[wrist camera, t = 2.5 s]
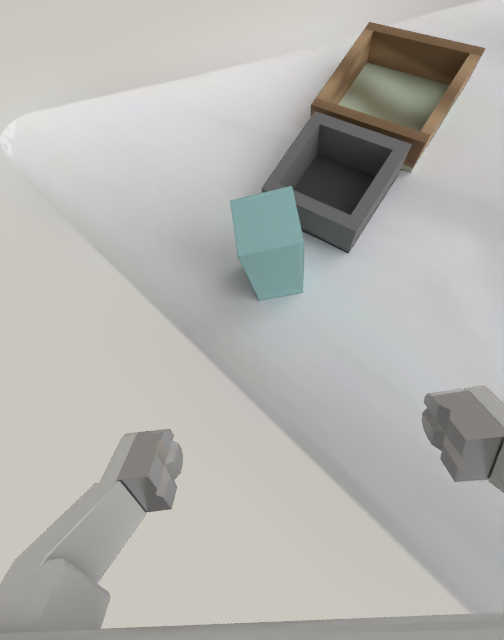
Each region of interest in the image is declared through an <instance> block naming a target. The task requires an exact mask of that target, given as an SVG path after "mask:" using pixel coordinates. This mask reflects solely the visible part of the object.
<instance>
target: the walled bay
mask: <svg viewBox="0 0 504 640" xmlns="http://www.w3.org/2000/svg"><path fill="white" fill-rule="evenodd" d="M485 49H486V48H481V47H477V46H473V45H468V44H464V43H459V42H455V41H451V40H446V39H442V38H437V37H433V36H429V35H424V34H420V33H415V32H411V31H406V30H402V29H398V28H393V27H389V26H384V25H380V24H376V23H371V22H369V24H368V25H367V26H366V28H365V29H364V31H363V32H362V33H361V35H360V36H359V38H358V39H357V40H356V42H355V43H354V45H353V46H352V48H351V49H350V50H349V52H348V53H347V55H346V56H345V58H344V59H343V60H342V62H341V63H340V65H339V66H338V67H337V69H336V70H335V72H334V73H333V75H332V76H331V77H330V79H329V80H328V82H327V83H326V85H325V86H324V87H323V89H322V90H321V92H320V93H319V95H318V96H317V97H316V99H315V100H314V102H313V103H312V104H311V117H312V115H313V114H314V113H315V111H316V112H319V113H322V114H325V115H328V116H330V117H333V118H336V119H339V120H342V121H345V122H348V123H351V124H354V125H357V126H360V127H363V128H366V129H369V130H372V131H374V132H377V133H380V134H383V135H386V136H389V137H392V138H395V139H398V140H401V141H404V142H407V143H410V144H412V145H411V148H410V150H409V152H408V154H407V156H406V158H405V161H404V163H403V165H402V167H401V169H402V170H405V171H408V172H411V171H412V170H413V168H414V166H415V165H416V163H417V162H418V160H419V158H420V157H421V155H422V154H423V152H424V151H425V149H426V147H427V146H428V144H429V143H430V141H431V139H432V138H433V136H434V135H435V133H436V131H437V130H438V128H439V127H440V125H441V124H442V122H443V120H444V119H445V117H446V116H447V114H448V112H449V111H450V109H451V108H452V106H453V104H454V103H455V101H456V100H457V98H458V97H459V95H460V93H461V92H462V90H463V89H464V87H465V85H466V83H467V81H468V80H469V78H470V76H471V74H472V72H473V70H474V69H475V67H476V65H477V63H478V61H479V60H480V58H481V56H482V54H483V52H484V50H485Z"/></svg>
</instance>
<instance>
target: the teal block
mask: <svg viewBox="0 0 504 640" xmlns="http://www.w3.org/2000/svg"><path fill="white" fill-rule="evenodd" d="M230 203H231V210H232V217H233V224H234V232H235V239H236V246H237V253H238V258H239V260H240V262H241V264H242V266H243V268H244V270H245V272H246V274H247V276H248V278H249V280H250V282H251V284H252V287H253V289H254V291H255V293H256V295H257V297H258V299H259V301H261V300H266V299H271V298H276V297H282V296H287V295H292V294H297V293H303V271H304V239H303V234H302V230H301V225H300V221H299V216H298V211H297V207H296V202H295V197H294V193H293V188H292V186H289V187H285V188H281V189H277V190H273V191H269V192H264V193H260V194H256V195H252V196H248V197H244V198H240V199H236V200H232V201H230Z"/></svg>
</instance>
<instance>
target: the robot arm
mask: <svg viewBox="0 0 504 640" xmlns="http://www.w3.org/2000/svg"><path fill="white" fill-rule="evenodd" d="M424 403H425V405H426V406H427V409H426V410H425V411H424V412H423V413H422V423H423V428H424V431H425V433H426V435H427V437H428V439H429V441H430V443H431V444H432V445H433V446H435V447H436V448H438V449H439V450H441V451H442V453H441V461H442V462H443V464H444V465H445V467H446V469H447V470H448V472H449V473H450V475H451V477H452V478H453V480H454V481H455V482H460V481H475V480H489V482H490V483H492V484H493V485H494V486H496V487H497V488H498V489H500V490H501V491H502V492H504V403H503V402H502V401H501V400H500V399H499V398H498V397H497V396H496V395H495V394H494V393H492V392H491V391H490V390H489V389H488V388H486V387H484V386H479V387H472V388H464V389H455V390H448V391H441V392H435V393H428V394H427V395H426V396H425V399H424ZM173 437H174V435H173V433H172V431H171V430H170V429H165V430H156V431H146V432H138V433H130V434H125V435H124V436H123V437H122V438H121V440H120V442H119V444H118V446H117V448H116V450H115V452H114V454H113V456H112V458H111V461H110V463H109V465H108V467H107V469H106V470H105V472H104V475H103V477H102V479H101V481H100V483H95V484H94V485H93V486H92V487H91V488H90V489H89V490H88V491H87V492H86V493H85V494H84V495H83V496H81V497H80V499H78V500H77V501H76V502H75V503H74V504H73V505H72V506H71V507H70V508H69V509H68V510H67V511H66V512H65V513H64V514H63V515H62V516H61V517H60V518H58V519H57V520H56V521H55V522H54V523H53V524H52V525H51V526H50V527H49V528H48V529H47V530H46V531H45V532H44V533H43V534H42V535H41V536H40V537H39V538H37V539H36V540H35V541H34V542H33V543H32V544H31V545H30V546H29V547H28V548H27V549H26V550H25V551H24V552H23V553H22V554H21V555H20V556H19V557H18V558H17V559H15V561H14V562H13V564H12V566H11V567H10V569H9V570H8V572H7V574H6V575H5V577H4V579H3V580H2V582H1V584H0V640H504V613H481V614H459V615H458V614H457V615H432V616H408V617H384V618H383V617H382V618H359V619H335V620H334V619H333V620H310V621H284V622H259V623H235V624H211V625H186V626H163V627H138V628H111V629H100V628H101V625H102V622H103V619H104V616H105V613H106V610H107V607H108V604H109V600H110V595H109V593H108V591H106V590H105V589H103V588H102V587H101V586H99V585H98V584H97V583H98V582H99V580H100V579H101V578H102V576H103V575H104V573H105V572H106V571H107V569H108V568H109V566H110V565H111V563H112V562H113V561H114V559H115V558H116V556H117V555H118V554H119V552H120V551H121V549H122V548H123V547H124V545H125V544H126V542H127V541H128V539H129V538H130V537H131V535H132V534H133V532H134V531H135V530H136V528H137V527H138V525H139V524H140V522H141V521H142V520H143V518H144V517H145V515H146V512H152V511H161V510H168V509H172V505H173V501H174V497H175V493H176V489H177V486H176V483H175V481H174V480H175V479H176V478H177V477H178V475H179V474H180V473H181V468H182V460H183V454H182V450H181V447H180V445H179V444H178V443H176V442H175V441H173Z"/></svg>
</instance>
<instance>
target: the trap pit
mask: <svg viewBox="0 0 504 640" xmlns="http://www.w3.org/2000/svg"><path fill="white" fill-rule="evenodd" d="M411 145H412V144H410V143H407V142H404V141H401V140H398V139H395V138H392V137H389V136H386V135H383V134H380V133H377V132H374V131H372V130H369V129H366V128H363V127H360V126H357V125H354V124H351V123H348V122H345V121H342V120H339V119H336V118H333V117H330V116H328V115H325V114H322V113H319V112H316V111H315V113H314V114H313V115H312V117H311V118H310V120H309V121H308V123H307V124H306V125H305V127H304V128H303V130H302V131H301V133H300V134H299V135H298V137H297V138H296V140H295V141H294V143H293V144H292V145H291V147H290V148H289V150H288V151H287V153H286V154H285V155H284V157H283V158H282V160H281V161H280V163H279V164H278V166H277V167H276V168H275V170H274V171H273V173H272V174H271V176H270V177H269V178H268V180H267V181H266V183H265V184H264V186H263V187H262V188H261V189H262V193H264V192H269V191H273V190H277V189H281V188H285V187H289V186H292V188H293V193H294V197H295V202H296V207H297V211H298V216H299V221H300V225H301V230H302V231H304V232H306V233H308V234H310V235H312V236H314V237H316V238H318V239H320V240H323V241H325V242H327V243H329V244H331V245H333V246H335V247H337V248H339V249H341V250H343V251H345V252H347V253H349V252H350V250H351V248H352V247H353V245H354V244H355V242H356V241H357V239H358V237H359V236H360V234H361V233H362V231H363V230H364V228H365V226H366V225H367V223H368V222H369V220H370V219H371V217H372V215H373V214H374V212H375V211H376V209H377V208H378V206H379V204H380V203H381V201H382V200H383V198H384V197H385V195H386V193H387V192H388V190H389V189H390V187H391V186H392V184H393V182H394V181H395V179H396V178H397V176H398V174H399V172H400V169H401V167H402V165H403V163H404V161H405V158H406V156H407V154H408V152H409V150H410V148H411Z"/></svg>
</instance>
